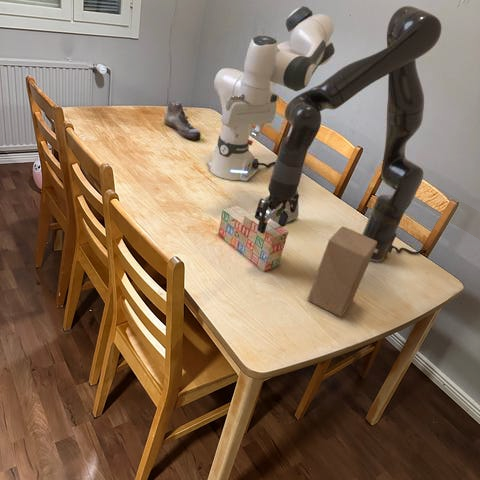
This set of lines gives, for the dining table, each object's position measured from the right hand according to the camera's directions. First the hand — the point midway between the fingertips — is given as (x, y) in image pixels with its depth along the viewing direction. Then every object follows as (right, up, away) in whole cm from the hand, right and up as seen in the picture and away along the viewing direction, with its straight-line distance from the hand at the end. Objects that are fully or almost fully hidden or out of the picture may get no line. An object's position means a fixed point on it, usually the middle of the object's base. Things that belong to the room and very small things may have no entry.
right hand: (271, 228), depth 124 cm
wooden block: (+16, -20, -3) cm, 26 cm away
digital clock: (+5, +3, +29) cm, 29 cm away
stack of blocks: (-7, -6, +10) cm, 14 cm away
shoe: (-36, +48, +84) cm, 103 cm away
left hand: (-7, +30, +17) cm, 35 cm away
